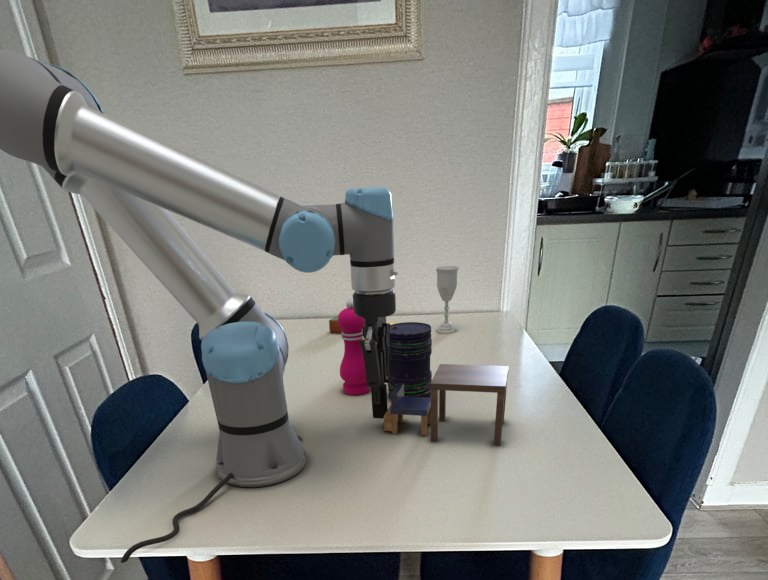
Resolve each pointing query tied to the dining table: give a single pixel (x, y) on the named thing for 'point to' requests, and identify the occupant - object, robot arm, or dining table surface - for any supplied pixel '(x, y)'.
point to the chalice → (446, 291)
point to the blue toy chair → (406, 410)
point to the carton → (334, 325)
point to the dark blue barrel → (410, 358)
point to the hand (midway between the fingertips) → (380, 416)
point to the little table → (468, 380)
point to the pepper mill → (352, 352)
